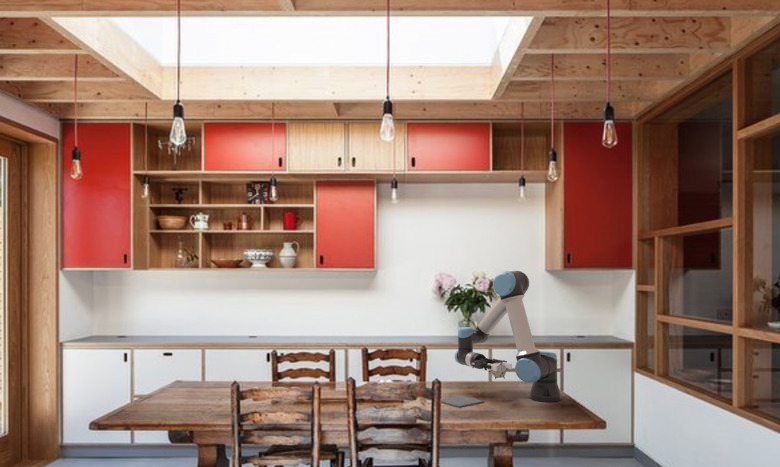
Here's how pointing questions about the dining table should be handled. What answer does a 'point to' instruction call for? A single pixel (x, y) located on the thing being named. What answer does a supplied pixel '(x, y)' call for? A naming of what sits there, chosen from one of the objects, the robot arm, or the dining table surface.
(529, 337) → the robot arm
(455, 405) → the mat
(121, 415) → the dining table surface
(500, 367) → the game die
